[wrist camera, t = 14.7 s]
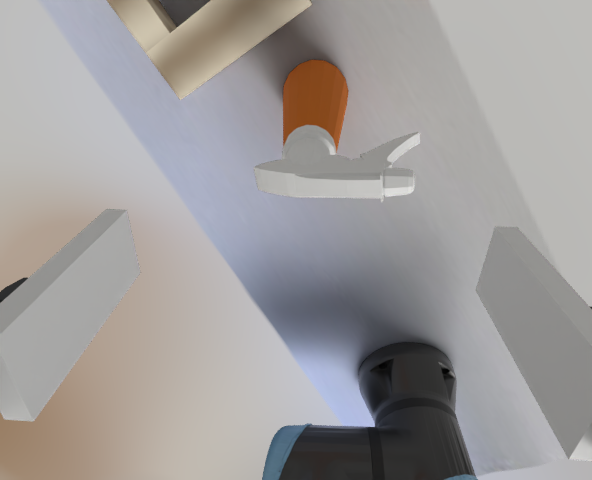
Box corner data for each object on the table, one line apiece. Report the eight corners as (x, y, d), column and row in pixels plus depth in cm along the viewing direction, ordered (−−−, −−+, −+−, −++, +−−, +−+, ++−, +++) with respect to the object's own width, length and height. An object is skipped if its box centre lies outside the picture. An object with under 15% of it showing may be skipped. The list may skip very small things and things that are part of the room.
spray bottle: (384, 119, 44) (446, 243, 21) (288, 130, 45) (251, 259, 22) (382, 48, 40) (455, 109, 18) (278, 64, 41) (222, 138, 19)
